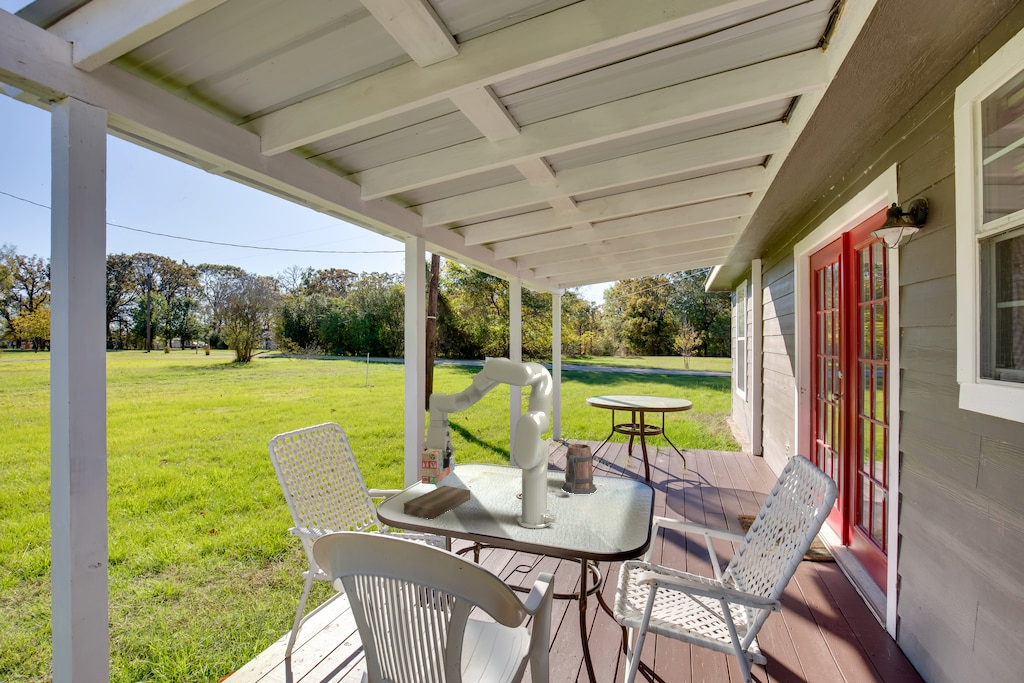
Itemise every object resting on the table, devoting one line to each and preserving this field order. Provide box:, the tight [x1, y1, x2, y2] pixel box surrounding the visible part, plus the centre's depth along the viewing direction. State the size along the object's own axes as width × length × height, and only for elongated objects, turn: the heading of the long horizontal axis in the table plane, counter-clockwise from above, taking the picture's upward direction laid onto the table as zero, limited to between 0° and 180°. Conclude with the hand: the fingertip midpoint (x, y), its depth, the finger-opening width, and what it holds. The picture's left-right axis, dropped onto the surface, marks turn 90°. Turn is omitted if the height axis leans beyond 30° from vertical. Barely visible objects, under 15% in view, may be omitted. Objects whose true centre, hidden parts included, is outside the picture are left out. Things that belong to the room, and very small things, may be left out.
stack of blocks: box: [421, 448, 456, 485], centre depth 190 cm, size 21×6×12 cm, turn 168°
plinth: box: [403, 485, 471, 520], centre depth 189 cm, size 14×26×4 cm, turn 151°
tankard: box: [561, 443, 598, 494], centre depth 209 cm, size 24×17×20 cm
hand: (438, 465), depth 189 cm, fingers closed on stack of blocks, 7 cm apart
